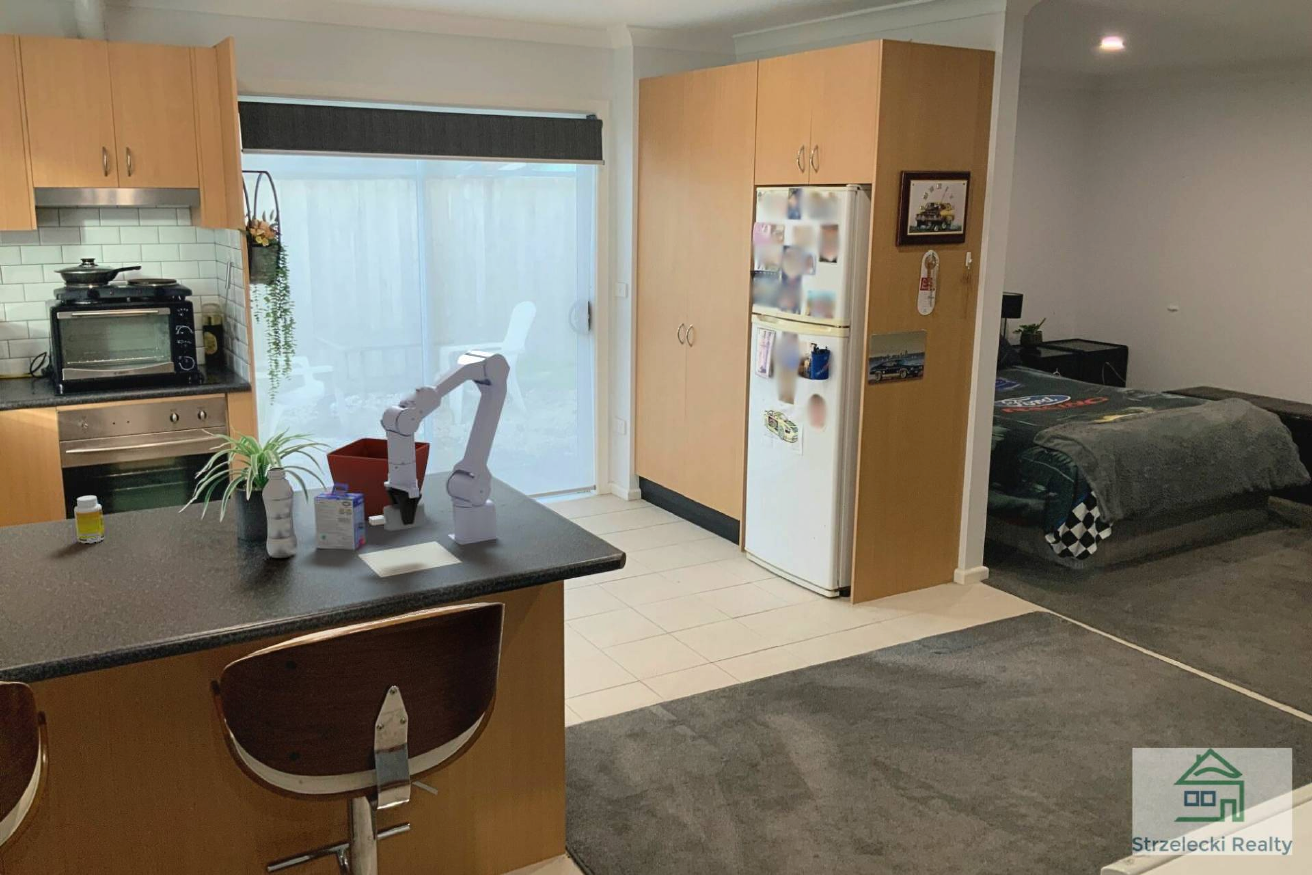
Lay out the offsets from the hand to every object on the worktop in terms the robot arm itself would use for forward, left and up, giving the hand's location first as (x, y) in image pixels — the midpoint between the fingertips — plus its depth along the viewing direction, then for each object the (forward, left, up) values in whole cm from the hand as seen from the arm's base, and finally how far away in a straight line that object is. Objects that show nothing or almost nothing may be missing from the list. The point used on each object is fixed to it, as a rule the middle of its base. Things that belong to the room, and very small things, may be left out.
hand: (404, 521), depth 231 cm
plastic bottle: (+23, -15, -9) cm, 29 cm away
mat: (0, +2, -9) cm, 9 cm away
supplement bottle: (+58, -48, -9) cm, 76 cm away
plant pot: (-6, -35, -9) cm, 37 cm away
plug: (+1, 0, -1) cm, 2 cm away
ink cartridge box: (+10, -15, -9) cm, 20 cm away
